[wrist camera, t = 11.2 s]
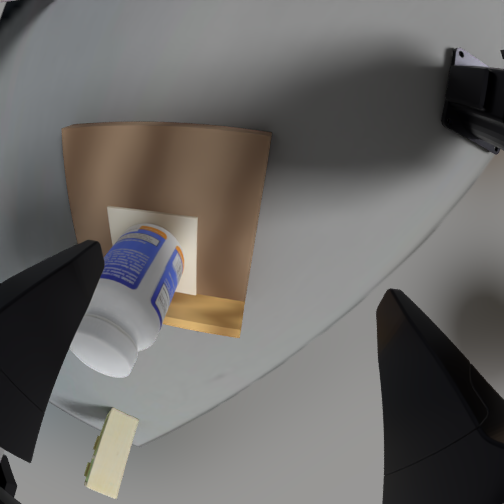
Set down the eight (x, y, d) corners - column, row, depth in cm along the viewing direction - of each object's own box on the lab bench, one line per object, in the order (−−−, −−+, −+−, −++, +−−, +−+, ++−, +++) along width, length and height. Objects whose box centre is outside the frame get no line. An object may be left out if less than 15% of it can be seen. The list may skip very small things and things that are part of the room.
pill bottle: (110, 246, 20) (44, 338, 12) (148, 206, 18) (70, 306, 10) (158, 290, 22) (114, 390, 14) (202, 259, 20) (161, 376, 12)
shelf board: (271, 132, 16) (270, 147, 12) (245, 297, 24) (239, 338, 20) (73, 124, 16) (34, 139, 12) (94, 269, 24) (71, 300, 20)
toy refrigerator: (109, 405, 46) (82, 486, 29) (139, 419, 48) (117, 500, 31) (104, 411, 50) (81, 483, 33) (131, 424, 52) (111, 496, 35)
